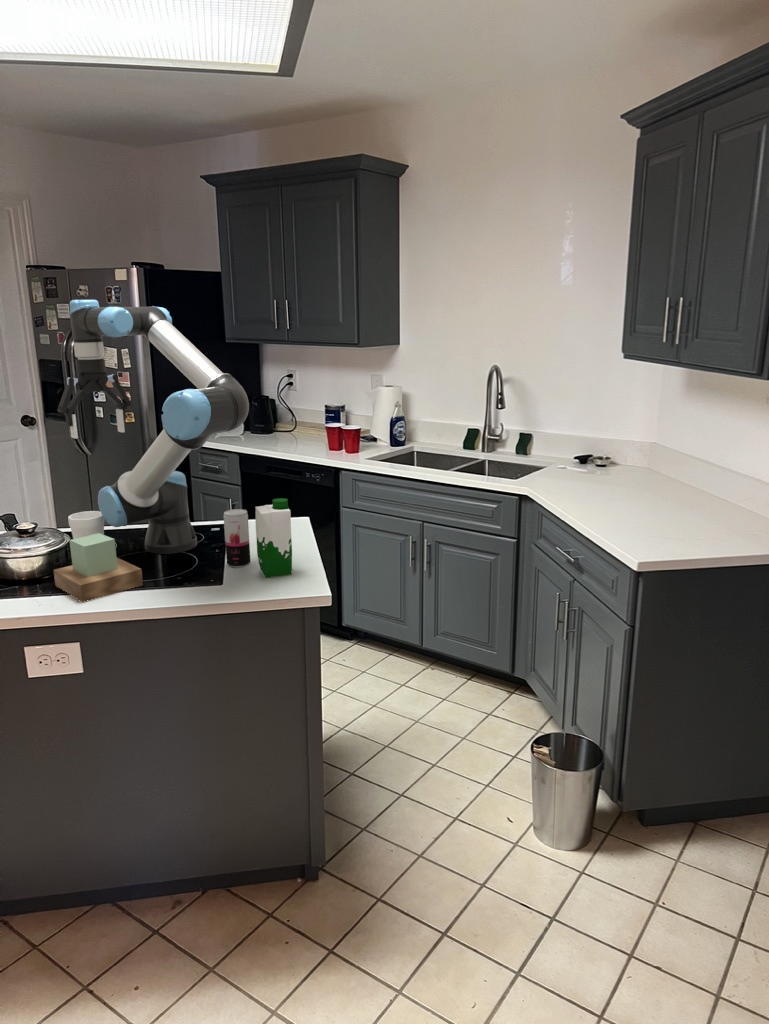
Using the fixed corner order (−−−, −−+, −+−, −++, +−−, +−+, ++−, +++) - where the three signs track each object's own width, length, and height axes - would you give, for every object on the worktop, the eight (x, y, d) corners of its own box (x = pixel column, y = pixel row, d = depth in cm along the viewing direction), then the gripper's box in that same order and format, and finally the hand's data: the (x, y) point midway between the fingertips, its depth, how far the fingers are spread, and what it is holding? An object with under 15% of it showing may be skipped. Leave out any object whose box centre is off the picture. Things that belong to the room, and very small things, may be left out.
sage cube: (102, 561, 199) (99, 533, 196) (117, 568, 193) (114, 539, 191) (73, 569, 193) (69, 540, 191) (88, 576, 188) (84, 546, 186)
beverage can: (239, 569, 205) (236, 516, 201) (221, 565, 209) (218, 513, 205) (255, 562, 211) (252, 510, 207) (237, 558, 214) (234, 507, 210)
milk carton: (295, 575, 200) (292, 502, 195) (262, 579, 197) (258, 506, 192) (288, 565, 208) (285, 495, 203) (255, 569, 205) (251, 498, 200)
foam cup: (71, 566, 209) (66, 521, 206) (75, 555, 218) (69, 512, 214) (107, 562, 212) (102, 518, 208) (109, 552, 220) (104, 509, 217)
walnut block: (114, 572, 205) (112, 555, 204) (143, 587, 194) (141, 569, 193) (55, 588, 194) (53, 569, 193) (82, 604, 183) (80, 585, 182)
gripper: (126, 355, 217) (133, 428, 222) (38, 360, 200) (48, 438, 206) (138, 356, 212) (145, 430, 217) (49, 361, 195) (59, 442, 200)
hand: (98, 435), depth 211 cm, fingers open, 13 cm apart
